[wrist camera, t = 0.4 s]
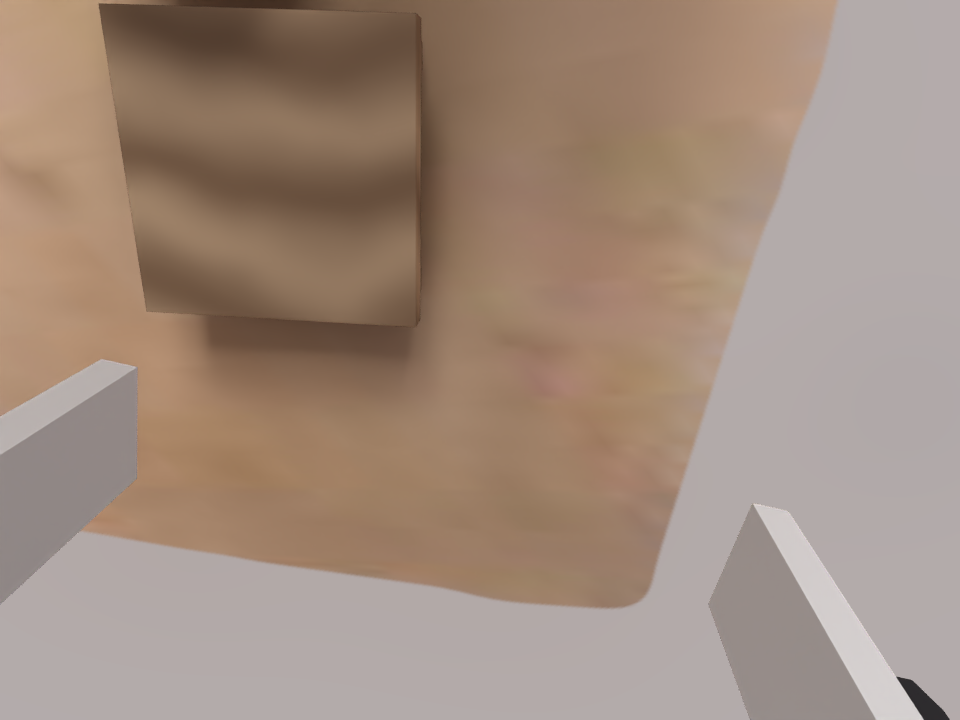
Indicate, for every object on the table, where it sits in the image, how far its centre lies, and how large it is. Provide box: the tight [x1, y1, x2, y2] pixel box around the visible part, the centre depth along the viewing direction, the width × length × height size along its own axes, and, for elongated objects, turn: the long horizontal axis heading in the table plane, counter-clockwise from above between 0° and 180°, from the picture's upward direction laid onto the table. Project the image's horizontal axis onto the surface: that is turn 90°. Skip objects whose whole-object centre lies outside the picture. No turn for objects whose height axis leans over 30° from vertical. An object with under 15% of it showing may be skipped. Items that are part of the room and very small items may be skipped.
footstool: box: [99, 4, 422, 327], centre depth 34 cm, size 15×15×6 cm
